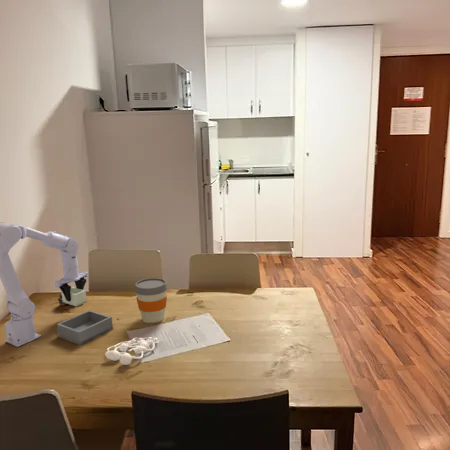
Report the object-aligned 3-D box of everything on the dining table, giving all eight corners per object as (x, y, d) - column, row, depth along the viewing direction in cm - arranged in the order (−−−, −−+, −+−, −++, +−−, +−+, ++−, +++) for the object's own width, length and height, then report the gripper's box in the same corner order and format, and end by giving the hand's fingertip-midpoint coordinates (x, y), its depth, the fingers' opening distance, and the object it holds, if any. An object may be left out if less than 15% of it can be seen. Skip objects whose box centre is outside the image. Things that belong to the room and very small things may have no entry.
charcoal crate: (80, 345, 159) (79, 332, 158) (58, 336, 167) (56, 324, 166) (112, 329, 171) (111, 317, 170) (90, 321, 179) (89, 310, 177)
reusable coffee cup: (152, 327, 171) (150, 291, 168) (131, 320, 179) (127, 284, 176) (175, 316, 181) (173, 281, 178) (153, 309, 188) (151, 275, 185)
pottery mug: (83, 308, 193) (71, 295, 189) (65, 318, 194) (53, 305, 190) (87, 292, 204) (76, 279, 200) (70, 301, 205) (58, 289, 201)
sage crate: (76, 306, 177) (75, 294, 176) (62, 302, 182) (61, 290, 181) (86, 302, 181) (85, 290, 180) (73, 297, 186) (71, 286, 185)
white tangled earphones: (139, 338, 166) (138, 328, 165) (168, 345, 158) (167, 334, 157) (98, 360, 150) (97, 349, 149) (128, 369, 142) (126, 356, 141)
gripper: (61, 273, 170) (65, 306, 173) (91, 263, 182) (95, 294, 185) (50, 270, 174) (54, 303, 177) (80, 260, 186) (84, 291, 189)
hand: (74, 298), depth 181 cm, fingers closed on sage crate, 5 cm apart
